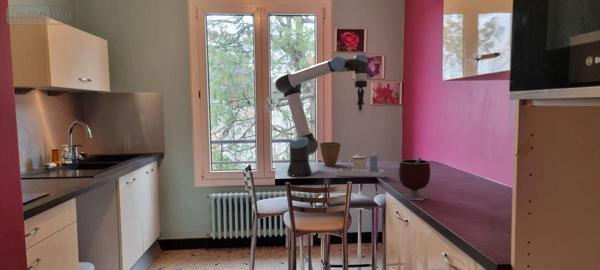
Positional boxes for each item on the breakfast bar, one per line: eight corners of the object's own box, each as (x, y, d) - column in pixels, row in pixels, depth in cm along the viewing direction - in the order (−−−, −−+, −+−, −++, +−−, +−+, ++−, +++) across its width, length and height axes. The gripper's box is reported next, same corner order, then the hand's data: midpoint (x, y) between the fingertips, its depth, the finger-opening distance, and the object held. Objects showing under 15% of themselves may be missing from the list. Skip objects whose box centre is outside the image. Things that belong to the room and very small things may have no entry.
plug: (370, 176, 223) (370, 153, 222) (370, 174, 227) (370, 152, 225) (377, 176, 222) (377, 153, 221) (377, 174, 226) (377, 152, 225)
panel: (336, 177, 224) (336, 170, 224) (337, 174, 233) (337, 168, 233) (384, 178, 219) (384, 171, 218) (383, 175, 228) (383, 169, 227)
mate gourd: (395, 194, 182) (395, 153, 180) (424, 193, 182) (424, 152, 180) (404, 202, 166) (404, 158, 165) (435, 202, 166) (436, 157, 165)
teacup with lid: (363, 169, 252) (363, 151, 251) (368, 171, 243) (368, 153, 242) (346, 169, 250) (346, 152, 249) (350, 172, 241) (350, 154, 240)
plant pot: (323, 167, 261) (323, 144, 260) (317, 164, 275) (317, 142, 274) (343, 166, 265) (343, 143, 263) (336, 163, 279) (336, 141, 278)
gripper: (366, 79, 216) (366, 116, 218) (367, 81, 241) (367, 114, 243) (353, 79, 218) (353, 116, 220) (355, 81, 242) (355, 114, 244)
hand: (360, 115), depth 231 cm, fingers open, 13 cm apart
